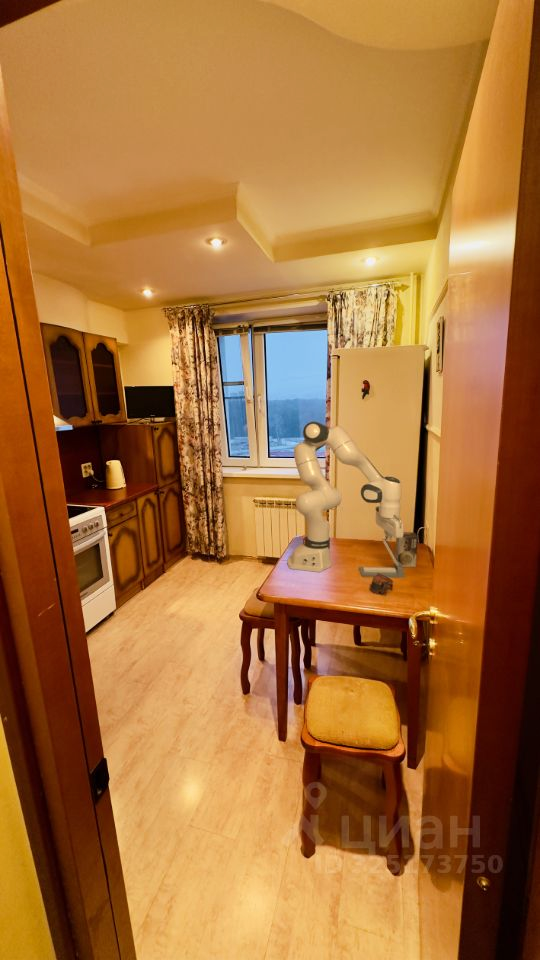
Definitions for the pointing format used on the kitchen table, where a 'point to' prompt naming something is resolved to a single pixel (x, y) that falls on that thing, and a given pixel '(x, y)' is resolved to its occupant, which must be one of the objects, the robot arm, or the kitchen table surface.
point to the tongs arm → (390, 552)
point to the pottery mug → (384, 582)
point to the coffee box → (406, 549)
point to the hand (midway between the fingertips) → (388, 539)
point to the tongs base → (383, 571)
